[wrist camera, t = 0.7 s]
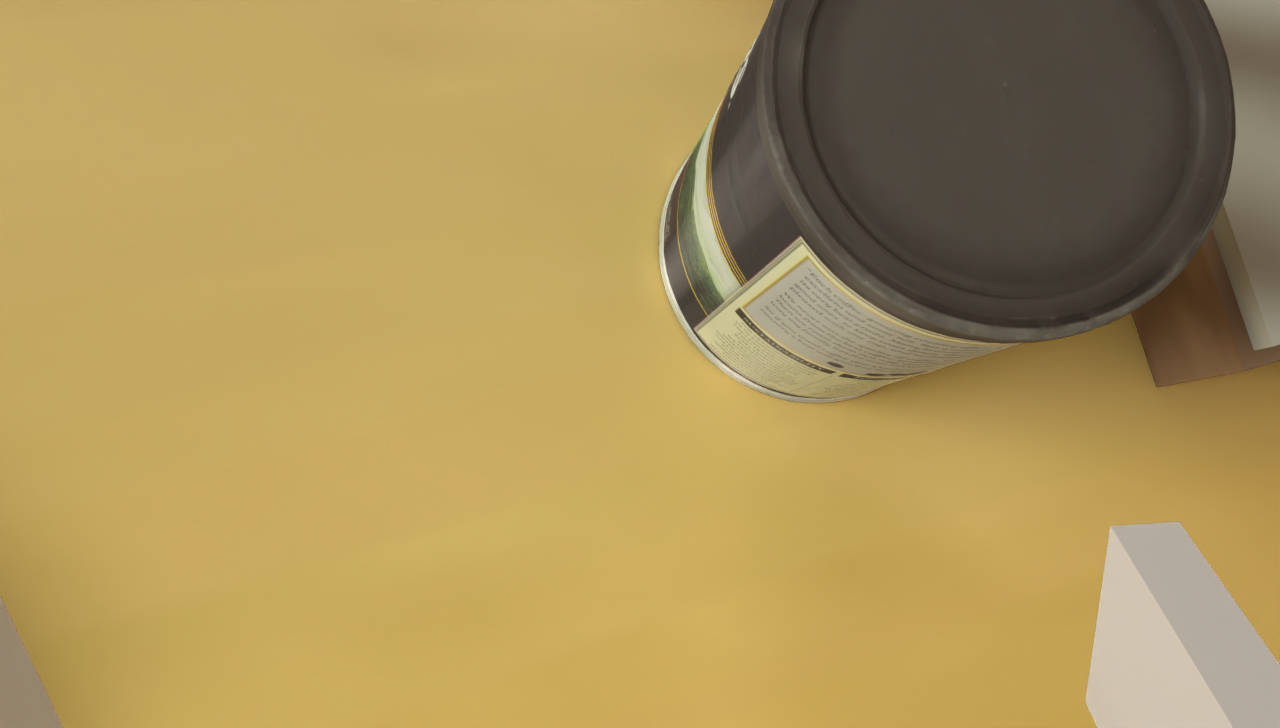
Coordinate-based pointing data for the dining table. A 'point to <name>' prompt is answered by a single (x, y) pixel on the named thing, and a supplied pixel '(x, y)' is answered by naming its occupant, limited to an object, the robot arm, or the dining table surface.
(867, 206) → the coffee can
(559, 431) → the dining table surface
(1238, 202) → the stand
